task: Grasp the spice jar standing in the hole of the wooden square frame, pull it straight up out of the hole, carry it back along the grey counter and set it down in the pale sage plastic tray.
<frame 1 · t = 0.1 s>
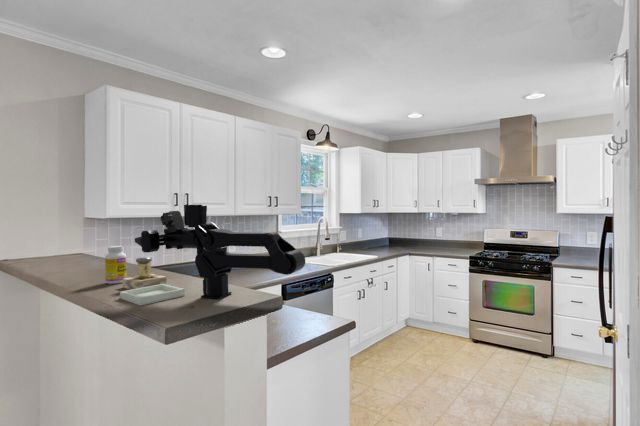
hand: (146, 238, 118), 17 cm above the countertop, tool horizontal, fingers open, 9 cm apart
spice jar: (144, 272, 126), in the wooden square frame
tray: (152, 297, 111), on the countertop
supplement bottle: (116, 282, 134), on the countertop
wooden square frame: (144, 286, 126), on the countertop
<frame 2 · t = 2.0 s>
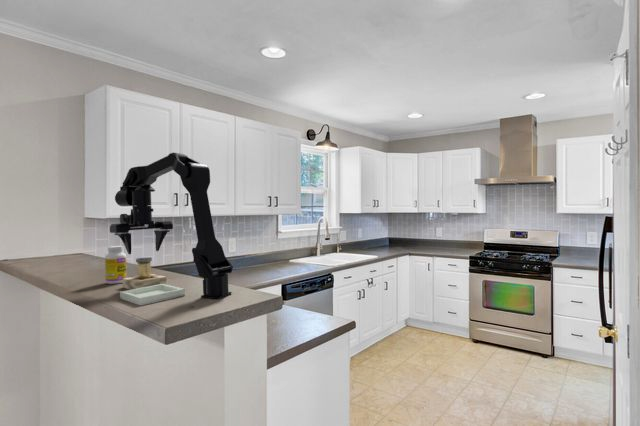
hand: (143, 252, 125), 11 cm above the countertop, tool pointing down, fingers open, 9 cm apart
nothing on the countertop moved.
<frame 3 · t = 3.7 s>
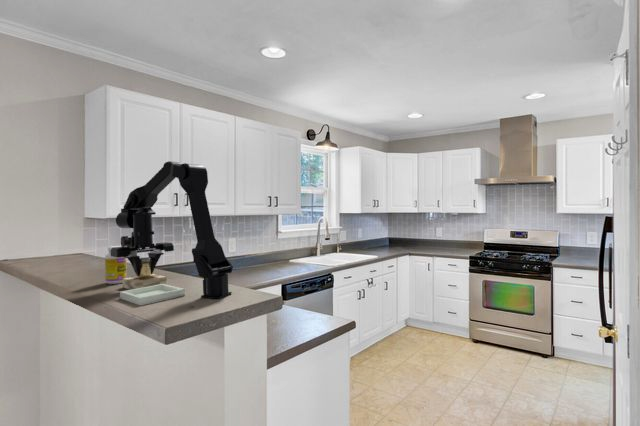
hand: (144, 275, 126), 4 cm above the countertop, tool pointing down, fingers closed on spice jar, 4 cm apart
spice jar: (144, 272, 126), in the wooden square frame, touching gripper
everything else where it was.
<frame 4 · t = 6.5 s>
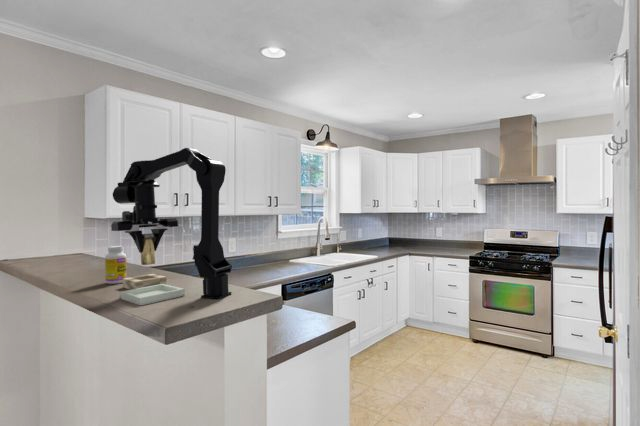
hand: (147, 251, 118), 12 cm above the countertop, tool pointing down, fingers closed on spice jar, 4 cm apart
spice jar: (147, 248, 118), point 13 cm above the countertop, touching gripper
everything else where it was.
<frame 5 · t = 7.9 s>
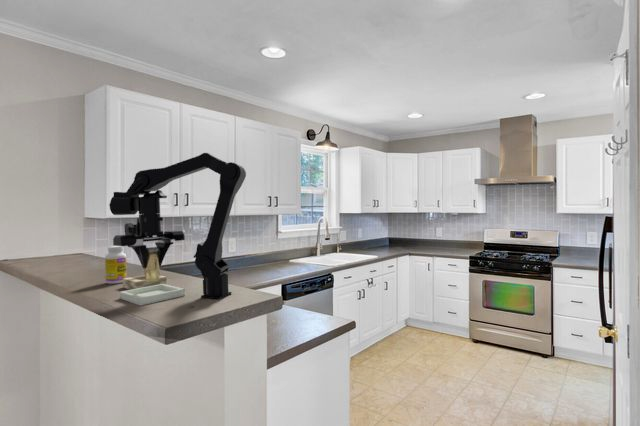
hand: (151, 267, 110), 9 cm above the countertop, tool pointing down, fingers closed on spice jar, 4 cm apart
spice jar: (151, 264, 110), point 10 cm above the countertop, touching gripper
everything else where it was.
when the fingers open (6 cm above the countertop, at t = 9.2 s): spice jar drops 1 cm, resting on tray.
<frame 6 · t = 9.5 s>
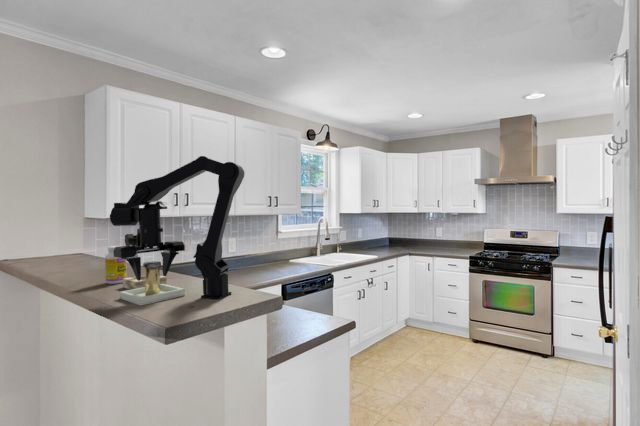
hand: (152, 278, 110), 6 cm above the countertop, tool pointing down, fingers open, 7 cm apart
spice jar: (152, 278, 110), in the tray, point 5 cm above the countertop
everything else where it was.
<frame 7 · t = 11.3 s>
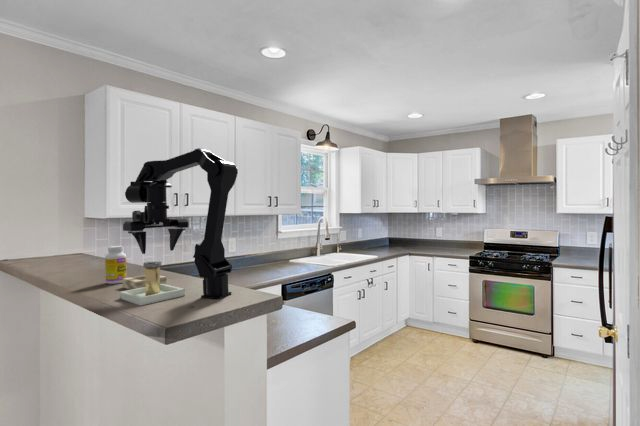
hand: (158, 252, 118), 12 cm above the countertop, tool pointing down, fingers open, 9 cm apart
nothing on the countertop moved.
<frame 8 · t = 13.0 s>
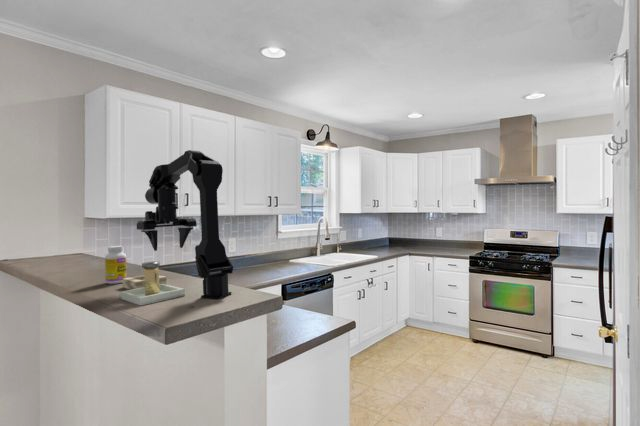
hand: (168, 249, 128), 12 cm above the countertop, tool pointing down, fingers open, 9 cm apart
nothing on the countertop moved.
at the end: spice jar inside the target area on the tray (0.0 cm from its centre), point 5.4 cm above the tray's base; spice jar moved 17.8 cm from its start; the gripper is holding nothing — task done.
